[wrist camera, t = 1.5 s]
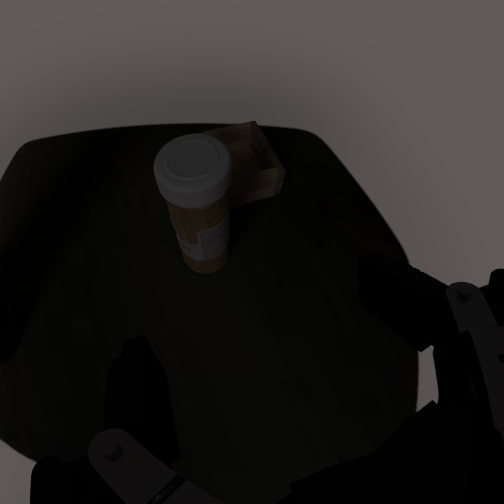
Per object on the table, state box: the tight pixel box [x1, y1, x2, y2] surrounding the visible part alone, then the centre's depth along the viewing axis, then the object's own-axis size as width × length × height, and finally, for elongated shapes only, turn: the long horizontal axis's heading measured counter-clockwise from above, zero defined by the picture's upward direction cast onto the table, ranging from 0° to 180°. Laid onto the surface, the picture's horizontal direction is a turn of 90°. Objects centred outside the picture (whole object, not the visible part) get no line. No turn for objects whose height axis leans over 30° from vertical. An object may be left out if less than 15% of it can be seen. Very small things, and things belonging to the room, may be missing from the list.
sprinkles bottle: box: [154, 134, 232, 274], centre depth 21 cm, size 5×5×14 cm
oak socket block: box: [198, 121, 286, 209], centre depth 30 cm, size 8×8×4 cm
